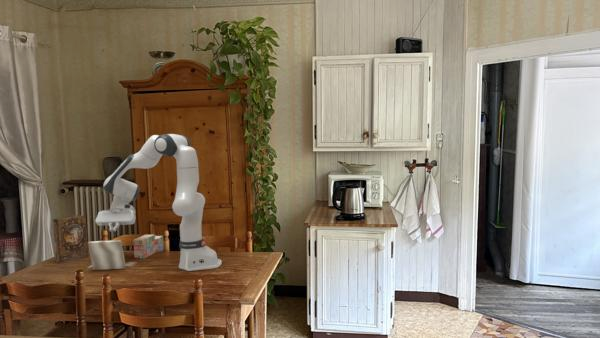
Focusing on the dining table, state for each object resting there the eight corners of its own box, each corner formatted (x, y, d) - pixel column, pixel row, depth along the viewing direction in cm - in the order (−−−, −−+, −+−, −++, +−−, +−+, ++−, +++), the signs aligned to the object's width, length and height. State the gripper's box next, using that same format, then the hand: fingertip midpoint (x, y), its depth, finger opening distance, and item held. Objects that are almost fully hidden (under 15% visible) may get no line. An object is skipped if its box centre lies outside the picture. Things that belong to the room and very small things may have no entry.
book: (58, 263, 225) (55, 220, 223) (54, 262, 228) (51, 219, 226) (88, 256, 238) (85, 215, 236) (83, 255, 241) (81, 214, 239)
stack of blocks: (154, 250, 248) (153, 230, 247) (164, 250, 247) (163, 231, 246) (134, 260, 227) (133, 239, 226) (144, 261, 226) (143, 239, 225)
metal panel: (125, 269, 209) (126, 268, 210) (120, 241, 203) (121, 240, 205) (93, 271, 208) (94, 269, 209) (87, 242, 202) (89, 241, 204)
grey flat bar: (138, 264, 217) (138, 261, 217) (134, 268, 211) (133, 265, 211) (92, 266, 216) (92, 263, 215) (87, 270, 209) (86, 267, 209)
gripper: (97, 206, 220) (90, 228, 211) (135, 205, 221) (129, 226, 212) (101, 213, 225) (94, 234, 216) (138, 212, 226) (133, 233, 217)
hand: (112, 230), depth 214 cm, fingers closed
